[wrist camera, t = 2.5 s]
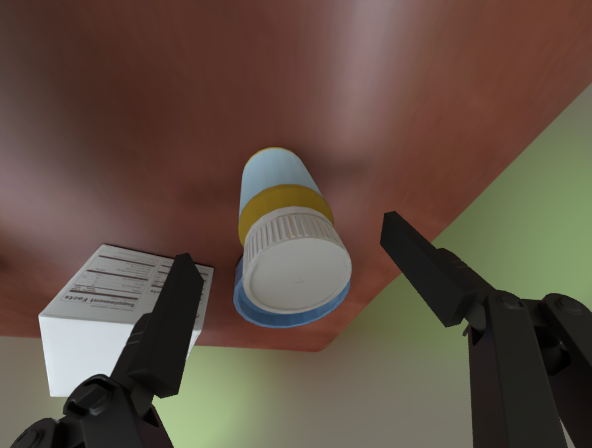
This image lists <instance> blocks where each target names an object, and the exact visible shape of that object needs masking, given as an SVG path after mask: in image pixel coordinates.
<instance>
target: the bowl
mask: <svg viewBox="0 0 592 448" xmlns="http://www.w3.org/2000/svg"><path fill="white" fill-rule="evenodd" d="M242 277H243V257H242V258H241V260H240V262H239V263H238V265H237V267H236V272H235V281H234V293H233V302H234V305H235V307H236V310H237V312H238V313H239V314H240V315H241V316H242V317H244V318H245V319H246V320H247V321H249V322H251V323H254V324H256V325H258V326H263V327H270V328H291V327H296V326H300V325H305V324H308V323H311V322H313V321H316V320H318V319H320V318H322V317H324V316H325V315H327V314H329V313H330V312H332V311H333V310H334V309H335V308H336V307H337V306H338V305H339V304H340V303H341V302H342V301H343V300H344V298H345V296H346V295H347V293H348V291H349V286H350V279H349V281H348V283H347V285H346V286H345V288H344V289H343V290H342V291H341V292H340V293H339V294H338V295H337V296H336V297H335V298H334V299H332V300H331V301H329V302H328V303H326V304H324V305H322V306H320V307H318V308H315V309H312V310H309V311H305V312H301V313H293V314H280V313H273V312H269V311H266V310H263V309H261V308H259V307H257V306H256V305H254V304H253V303H252V302H251V301H250V300H249V298H248V297H247V295H246V293H245V290H244V287H243V282H242Z"/></svg>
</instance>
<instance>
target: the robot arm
mask: <svg viewBox="0 0 592 448" xmlns="http://www.w3.org/2000/svg"><path fill="white" fill-rule="evenodd" d="M380 244H381V246H382V247H383V248H384V250H385V251H386V252H387V253H388V255H389V256H390V257H391V258H392V260H393V261H394V262H395V264H396V265H397V266H398V267H399V269H400V270H401V271H402V272H403V274H404V275H405V276H406V278H407V279H408V280H409V281H410V283H411V284H412V285H413V287H414V288H415V289H416V290H417V292H418V293H419V294H420V295H421V297H422V298H423V299H424V301H425V302H426V303H427V304H428V306H429V307H430V308H431V310H432V311H433V312H434V313H435V315H436V316H437V317H438V318H439V320H440V321H441V322H442V323H443V325H444V326H445V327H450V326H454V325H458V324H460V323H461V322H462V320H463V318H465V319H466V320H467V321H468V322H469V324H468V326H467V327H466V329H465V330H464V332H463V336H466V334H467V333H468V343H469V344H468V345H469V366H470V387H471V408H472V429H473V448H568V447H567V443H566V439H565V436H564V432H563V429H562V425H561V422H560V419H561V421H562V423H563V425H564V427H565V429H566V431H567V432H568V434H569V436H570V438H571V440H572V442H573V444H574V446H575V448H592V312H591V311H590V310H589V309H588V308H587V307H586V306H584V305H583V304H582V303H580V302H579V301H577V300H575V299H573V298H571V297H569V296H566V295H562V294H557V293H550V294H548V295H546V296H545V297H544V298H543V299H542V300H530V299H520V298H519V297H517V296H515V295H514V294H512V293H509V292H506V291H501V290H496V289H495V288H493V287H492V286H491V285H490V284H489V283H487V282H486V281H485V280H484V279H483V278H482V277H481V276H479V275H478V274H477V273H476V272H475V271H474V270H472V269H471V268H470V267H468V265H467V264H465V263H464V262H463V261H461V259H460V258H458V257H457V256H456V255H455V254H454V253H452V252H450V251H448V250H446V249H444V248H440V249H436V248H435V247H434V246H433V245H431V243H430V242H428V241H427V240H426V239H425V238H424V237H423V236H422V235H421V234H420V233H419V232H418V231H416V230H415V229H414V228H413V227H412V226H411V225H410V224H409V223H408V222H407V221H405V220H404V219H403V218H402V217H401V216H400V215H399V214H398V213H397V212H396V211H393V212H388V213H384V220H383V226H382V233H381V240H380ZM203 285H204V279H203V278H202V276H201V274H200V272H199V270H198V269H197V267H196V265H195V263H194V262H193V260H192V258H191V256H190V255H189V253H185V254H180V255H176V257H175V259H174V262H173V264H172V266H171V269H170V271H169V273H168V275H167V278H166V280H165V282H164V285H163V287H162V289H161V292H160V294H159V296H158V299H157V301H156V303H155V306H154V308H153V310H152V312H150V313H145V314H143V315H142V316H141V317H140V319H139V320H138V321H137V322H136V323H135V325H134V327H133V329H132V331H131V333H130V337H128V339H127V342H126V345H125V346H124V348H123V350H122V352H121V354H120V356H119V358H118V360H117V362H116V365H115V367H114V369H113V371H112V373H111V375H110V377H108V376H107V375H105V374H96V375H93V376H91V377H89V378H88V379H86V380H84V381H83V382H82V383H81V384H80V385H78V386H77V387H76V388H75V389H74V391H73V392H72V393H71V394H70V396H69V397H68V399H67V401H66V403H65V405H64V407H63V414H64V415H67V416H65V417H63V418H61V419H59V420H56V419H53V418H44V419H42V420H40V421H37V422H35V423H34V424H33V425H31V426H30V427H29V428H27V429H26V430H25V431H24V432H23V433H22V434H21V435H20V436H19V437H18V438H17V439H16V440H15V442H14V443H13V444H12V446H11V447H10V448H174V447H173V445H172V442H171V440H170V438H169V436H168V434H167V432H166V430H165V428H164V426H163V424H162V421H161V419H160V417H159V415H158V413H157V411H156V409H155V407H154V406H153V404H152V400H153V397H154V394H155V395H156V396H158V397H159V398H165V397H169V396H173V395H177V394H178V392H179V388H180V384H181V379H182V375H183V371H184V366H185V362H186V358H187V354H188V349H189V345H190V341H191V337H192V332H193V328H194V324H195V320H196V315H197V311H198V307H199V302H200V298H201V294H202V290H203ZM559 417H560V418H559Z"/></svg>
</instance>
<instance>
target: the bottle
mask: <svg viewBox="0 0 592 448" xmlns="http://www.w3.org/2000/svg"><path fill="white" fill-rule="evenodd" d="M238 227H239V229H238V231H239V239H240V242H241V244H242V246H243V248H244V254H243V277H242V282H243V287H244V290H245V293H246V295H247V297H248V298H249V300H250V301H251V302H252V303H253V304H254V305H256V306H257V307H259V308H261V309H263V310H266V311H269V312H273V313H280V314H293V313H301V312H305V311H309V310H312V309H315V308H318V307H320V306H322V305H324V304H326V303H328V302H329V301H331V300H332V299H334V298H335V297H336V296H337V295H338V294H339V293H340V292H341V291H342V290H343V289H344V288H345V286H346V285H347V283H348V281H349V279H350V276H351V271H352V265H351V261H350V260H351V259H350V257H349V254H348V252H347V250H346V248H345V246H344V245H343V243H342V241H341V239H340V237H339V236H338V234H337V232H336V231H335V229H334V221H333V216H332V212H331V210H330V208H329V205H328V204H327V202H326V200H325V199H324V197H323V196H322V194H321V192H320V191H319V189H318V187H317V186H316V184H315V182H314V181H313V179H312V177H311V176H310V174H309V172H308V171H307V169H306V167H305V166H304V164H303V163H302V161H301V160H300V158H299V157H298V156H297V155H295V154H294V153H293V152H291V151H290V150H287V149H284V148H280V147H269V148H266V149H263V150H260V151H258V152H257V153H255V154H254V155H253V156H252V157H251V158H250V159H249V160H248V162H247V163H246V165H245V168H244V171H243V175H242V186H241V199H240V211H239V223H238Z"/></svg>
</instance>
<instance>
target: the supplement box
mask: <svg viewBox="0 0 592 448" xmlns="http://www.w3.org/2000/svg"><path fill="white" fill-rule="evenodd" d="M173 262H174V260H173V259H169V258H164V257H160V256H155V255H150V254H146V253H141V252H136V251H131V250H127V249H122V248H117V247H113V246H109V245H104V244H102V245H101V246H100V247H99V248H98V250H97V251H96V252H95V253H94V254H93V255H92V256H91V257H90V259H89V260H88V261H87V262H86V263H85V264H84V265H83V266H82V268H81V269H80V270H79V271H78V272H77V273H76V274H75V275H74V277H73V278H72V279H71V280H70V281H69V282H68V283H67V284H66V286H65V287H64V288H63V289H62V290H61V291H60V292H59V293H58V294H57V296H56V297H55V298H54V299H53V300H52V301H51V302H50V303H49V305H48V306H47V307H46V308H45V309H44V310H43V311H42V312H41V313H40V314H39V323H40V329H41V335H42V342H43V349H44V355H45V362H46V369H47V375H48V382H49V389H50V396H70V394H71V393H72V392H73V391H74V389H75V388H76V387H77V386H78V385H80V384H81V383H82V382H83V381H84V380H86V379H88V378H89V377H91V376H93V375H96V374H105V375H107V376H108V377H110V375H111V373H112V371H113V369H114V367H115V365H116V362H117V360H118V358H119V356H120V354H121V352H122V350H123V348H124V346H125V345H126V342H127V339H128V337H130V333H131V331H132V329H133V327H134V325H135V323H136V322H137V321H138V320H139V319H140V317H141V316H142V315H143V314H145V313H150V312H152V310H153V308H154V306H155V303H156V301H157V299H158V296H159V294H160V292H161V289H162V287H163V285H164V282H165V280H166V278H167V275H168V273H169V271H170V269H171V266H172V264H173ZM195 265H196V267H197V269H198V270H199V272H200V274H201V276H202V278H203V279H204V285H203V290H202V294H201V298H200V302H199V307H198V311H197V315H196V320H195V324H194V328H193V332H192V337H191V341H190V345H189V349H188V354H187V358H188V356H189V353H190V351H191V349H192V347H193V345H194V343H195V341H196V339H197V337H198V336H199V334H200V332H201V331H202V327H203V322H204V317H205V312H206V307H207V302H208V297H209V292H210V287H211V282H212V277H213V272H214V268H211V267H206V266H201V265H197V264H195ZM187 358H186V360H187ZM154 395H155V394H154Z"/></svg>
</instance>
